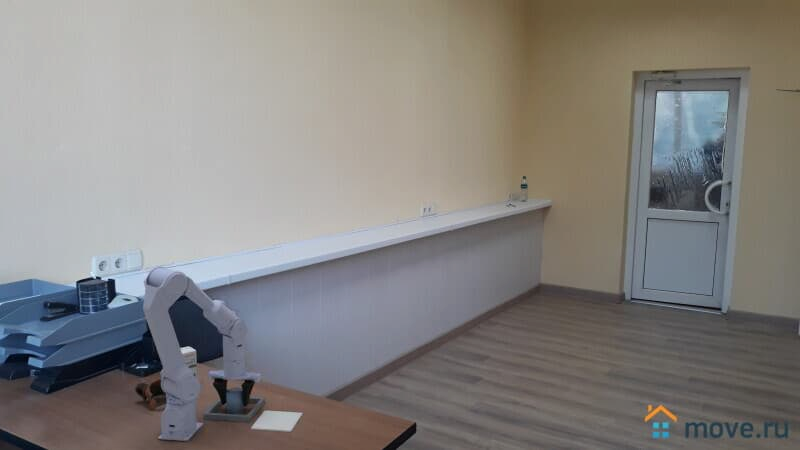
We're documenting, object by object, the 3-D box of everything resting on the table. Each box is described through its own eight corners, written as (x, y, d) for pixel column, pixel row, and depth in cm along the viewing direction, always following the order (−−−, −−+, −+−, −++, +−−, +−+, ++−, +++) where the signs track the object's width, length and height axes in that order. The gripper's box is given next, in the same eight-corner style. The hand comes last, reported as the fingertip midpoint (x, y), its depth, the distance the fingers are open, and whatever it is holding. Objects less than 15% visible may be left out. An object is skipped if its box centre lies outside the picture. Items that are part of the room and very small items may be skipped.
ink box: (171, 393, 191) (170, 355, 189) (164, 388, 194) (163, 351, 193) (198, 385, 197) (197, 349, 195) (191, 381, 200) (189, 345, 199)
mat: (291, 432, 166) (291, 430, 166) (250, 429, 168) (250, 427, 168) (302, 414, 177) (302, 412, 177) (264, 411, 178) (264, 410, 178)
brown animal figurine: (179, 396, 190) (181, 378, 185) (167, 422, 182) (169, 404, 177) (140, 387, 189) (141, 369, 184) (126, 412, 181) (126, 394, 176)
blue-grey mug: (240, 415, 176) (239, 394, 176) (223, 413, 177) (223, 393, 176) (248, 405, 183) (248, 385, 182) (233, 404, 183) (232, 384, 183)
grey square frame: (249, 422, 172) (249, 417, 172) (203, 419, 173) (203, 414, 173) (265, 402, 185) (265, 397, 184) (222, 400, 186) (222, 395, 186)
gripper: (263, 354, 180) (264, 400, 182) (215, 352, 182) (216, 397, 184) (254, 363, 173) (256, 410, 175) (204, 360, 175) (206, 407, 177)
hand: (235, 404), depth 179 cm, fingers open, 6 cm apart
